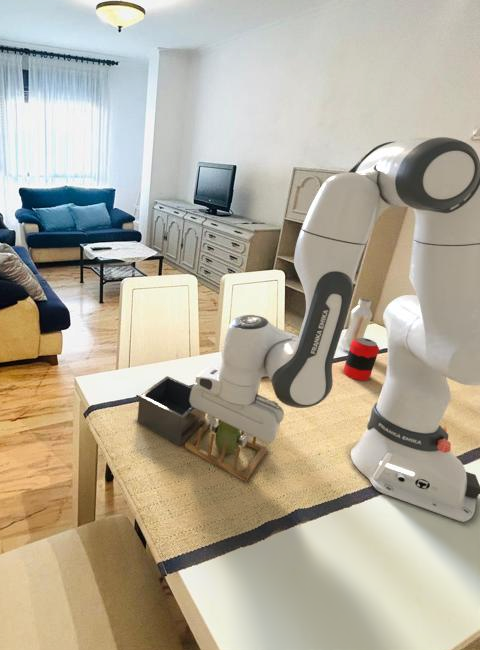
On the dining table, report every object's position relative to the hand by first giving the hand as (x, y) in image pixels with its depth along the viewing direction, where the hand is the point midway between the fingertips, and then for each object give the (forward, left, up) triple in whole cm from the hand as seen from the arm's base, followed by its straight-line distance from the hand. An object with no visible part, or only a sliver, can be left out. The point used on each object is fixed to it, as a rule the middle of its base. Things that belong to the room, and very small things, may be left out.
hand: (227, 437), depth 89 cm
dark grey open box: (+15, 0, -4) cm, 15 cm away
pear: (0, 0, -4) cm, 4 cm away
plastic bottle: (-12, -80, -4) cm, 81 cm away
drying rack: (0, 0, -4) cm, 4 cm away
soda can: (-17, -62, -4) cm, 64 cm away
